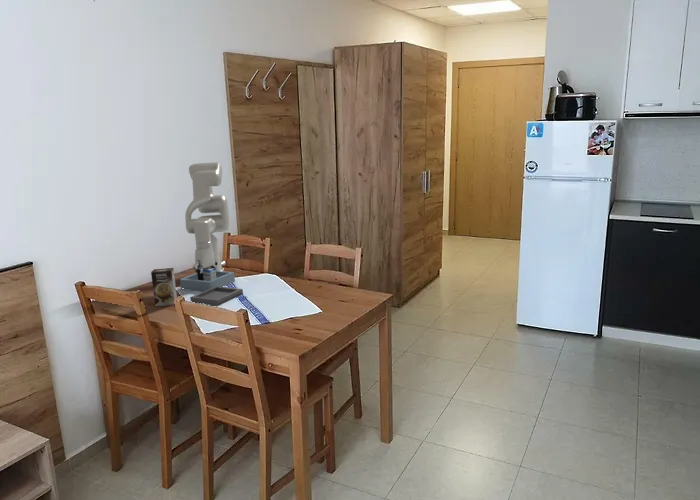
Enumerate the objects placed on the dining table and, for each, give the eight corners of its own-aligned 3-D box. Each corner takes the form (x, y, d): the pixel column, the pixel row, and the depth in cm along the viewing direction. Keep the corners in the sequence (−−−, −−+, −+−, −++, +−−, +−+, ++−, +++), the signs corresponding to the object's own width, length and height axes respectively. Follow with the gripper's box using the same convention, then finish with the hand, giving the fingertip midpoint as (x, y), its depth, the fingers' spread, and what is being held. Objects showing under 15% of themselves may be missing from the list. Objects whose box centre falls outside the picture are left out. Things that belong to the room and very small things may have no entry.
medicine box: (199, 286, 273) (197, 269, 271) (204, 283, 277) (202, 267, 275) (212, 287, 270) (210, 270, 268) (217, 284, 274) (215, 268, 272)
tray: (216, 291, 262) (215, 286, 262) (242, 293, 255) (242, 288, 255) (190, 302, 247) (190, 297, 246) (218, 305, 240) (217, 300, 239)
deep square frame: (206, 278, 286) (205, 269, 285) (235, 281, 277) (234, 272, 276) (181, 288, 269) (179, 279, 268) (210, 292, 261) (209, 282, 260)
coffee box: (154, 306, 243) (150, 272, 239) (157, 302, 249) (153, 268, 246) (175, 304, 244) (171, 270, 241) (177, 300, 251) (173, 267, 247)
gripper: (209, 241, 278) (213, 273, 281) (185, 248, 263) (189, 282, 266) (221, 242, 274) (224, 274, 278) (197, 248, 259) (201, 283, 263)
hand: (207, 278), depth 272 cm, fingers open, 9 cm apart
